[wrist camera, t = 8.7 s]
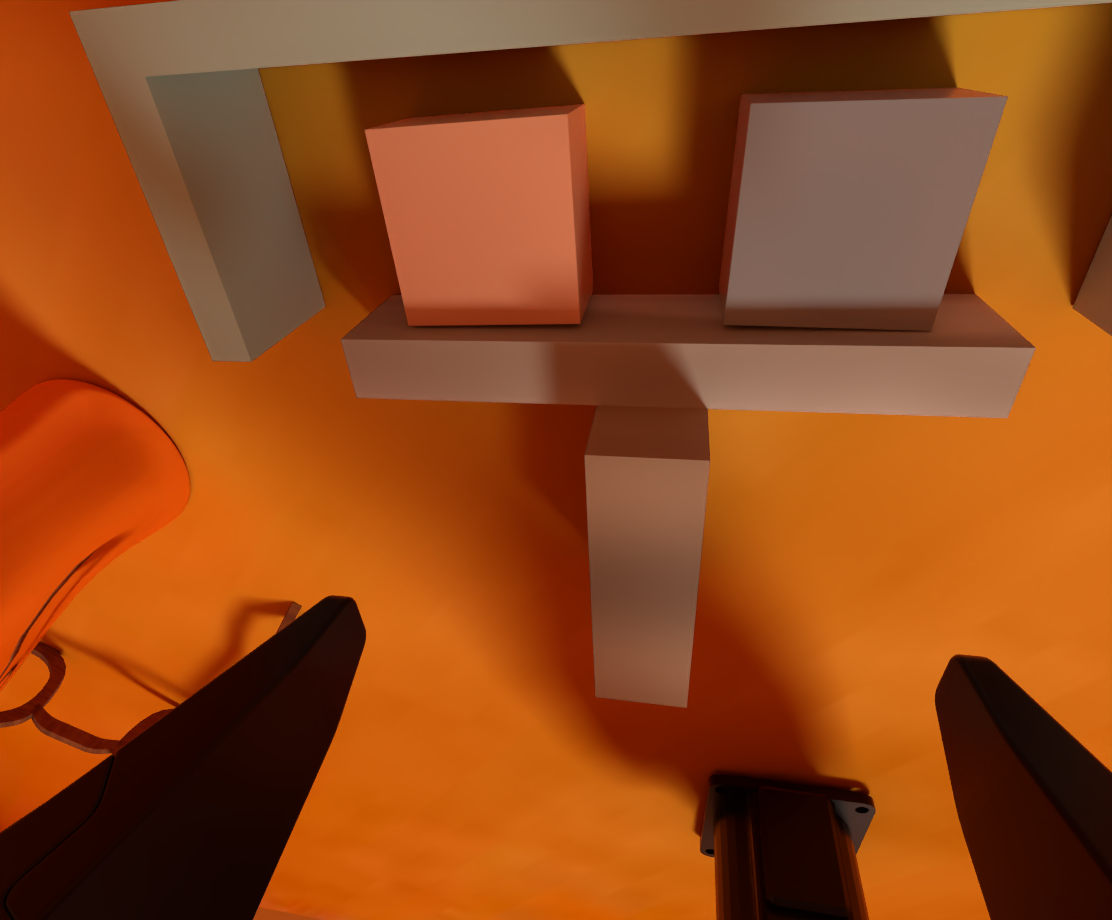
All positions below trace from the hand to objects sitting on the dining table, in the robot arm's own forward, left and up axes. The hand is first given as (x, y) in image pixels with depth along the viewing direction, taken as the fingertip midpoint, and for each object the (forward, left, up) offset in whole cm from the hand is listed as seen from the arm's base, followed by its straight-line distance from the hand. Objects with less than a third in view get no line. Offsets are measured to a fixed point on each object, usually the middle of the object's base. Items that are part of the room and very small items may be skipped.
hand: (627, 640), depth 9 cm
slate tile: (+4, -4, -9) cm, 10 cm away
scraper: (-2, 0, -9) cm, 9 cm away
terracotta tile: (+4, +4, -9) cm, 11 cm away
